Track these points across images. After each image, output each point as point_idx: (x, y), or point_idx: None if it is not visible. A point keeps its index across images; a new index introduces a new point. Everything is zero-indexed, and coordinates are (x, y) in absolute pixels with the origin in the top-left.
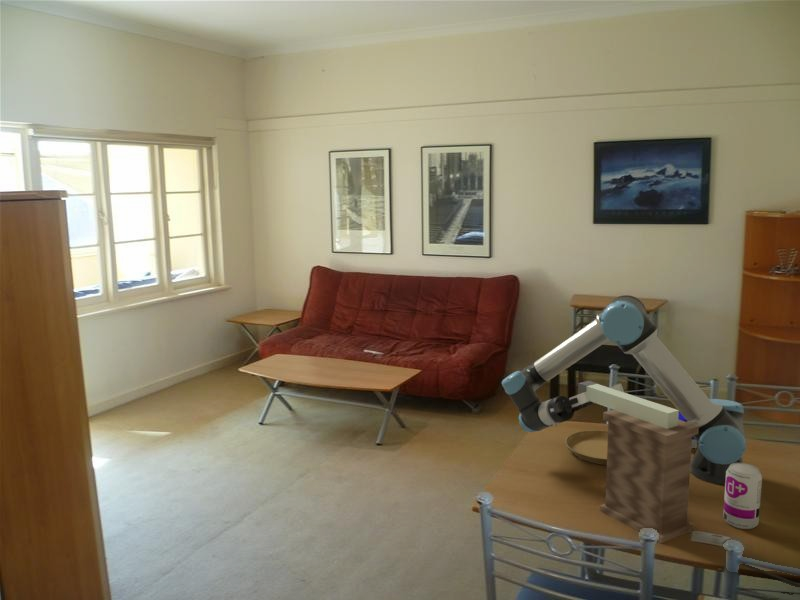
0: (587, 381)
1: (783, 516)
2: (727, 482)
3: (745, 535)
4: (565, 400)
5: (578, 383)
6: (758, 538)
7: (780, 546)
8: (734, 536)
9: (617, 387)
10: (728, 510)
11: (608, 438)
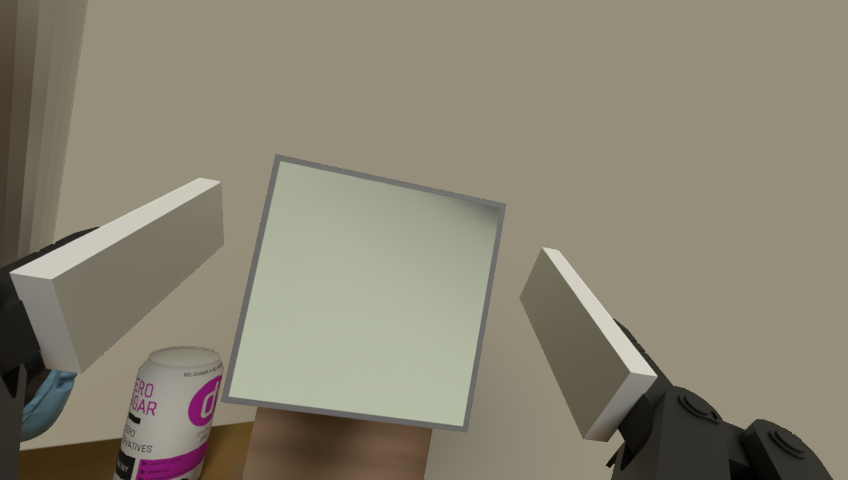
0: (332, 170)
1: (70, 453)
2: (201, 399)
3: (220, 466)
4: (698, 404)
5: (504, 209)
6: (219, 453)
7: (228, 433)
8: (238, 474)
9: (204, 212)
10: (196, 460)
11: (431, 431)
